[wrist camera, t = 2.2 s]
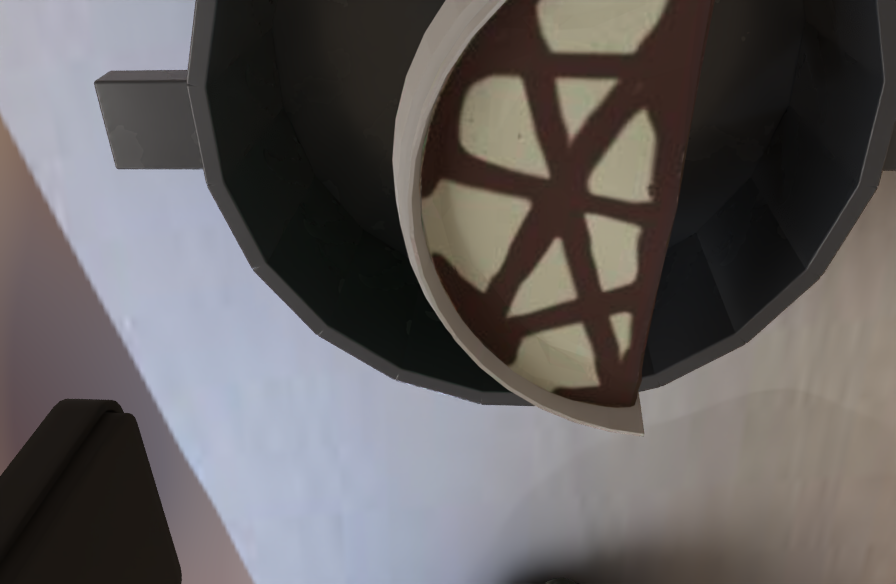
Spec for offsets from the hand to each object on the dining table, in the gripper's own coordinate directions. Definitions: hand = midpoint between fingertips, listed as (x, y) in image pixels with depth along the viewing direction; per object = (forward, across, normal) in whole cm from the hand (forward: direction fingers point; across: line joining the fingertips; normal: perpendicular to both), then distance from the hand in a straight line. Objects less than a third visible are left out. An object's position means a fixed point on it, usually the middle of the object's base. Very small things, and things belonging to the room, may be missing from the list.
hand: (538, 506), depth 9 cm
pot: (+18, 0, 0) cm, 18 cm away
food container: (+18, 0, 0) cm, 18 cm away
